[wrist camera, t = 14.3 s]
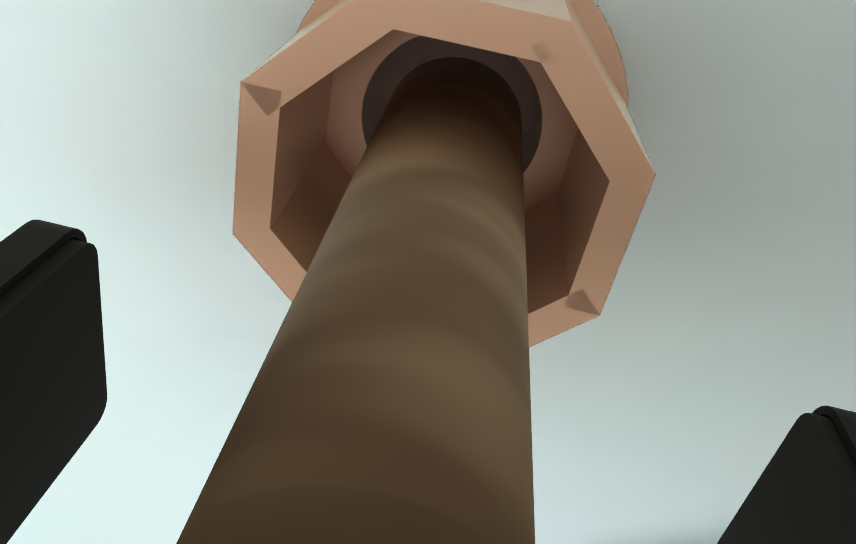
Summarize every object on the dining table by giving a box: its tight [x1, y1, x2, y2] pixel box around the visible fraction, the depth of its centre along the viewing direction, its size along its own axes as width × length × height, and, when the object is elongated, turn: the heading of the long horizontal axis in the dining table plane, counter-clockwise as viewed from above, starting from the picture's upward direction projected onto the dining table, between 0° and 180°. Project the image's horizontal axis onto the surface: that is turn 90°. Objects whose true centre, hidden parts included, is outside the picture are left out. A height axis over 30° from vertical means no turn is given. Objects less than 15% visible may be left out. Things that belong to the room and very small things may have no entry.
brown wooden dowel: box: [176, 57, 535, 544], centre depth 13 cm, size 4×4×14 cm
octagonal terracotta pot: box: [233, 0, 656, 347], centre depth 17 cm, size 9×9×6 cm
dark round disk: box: [362, 35, 542, 173], centre depth 19 cm, size 5×5×1 cm
